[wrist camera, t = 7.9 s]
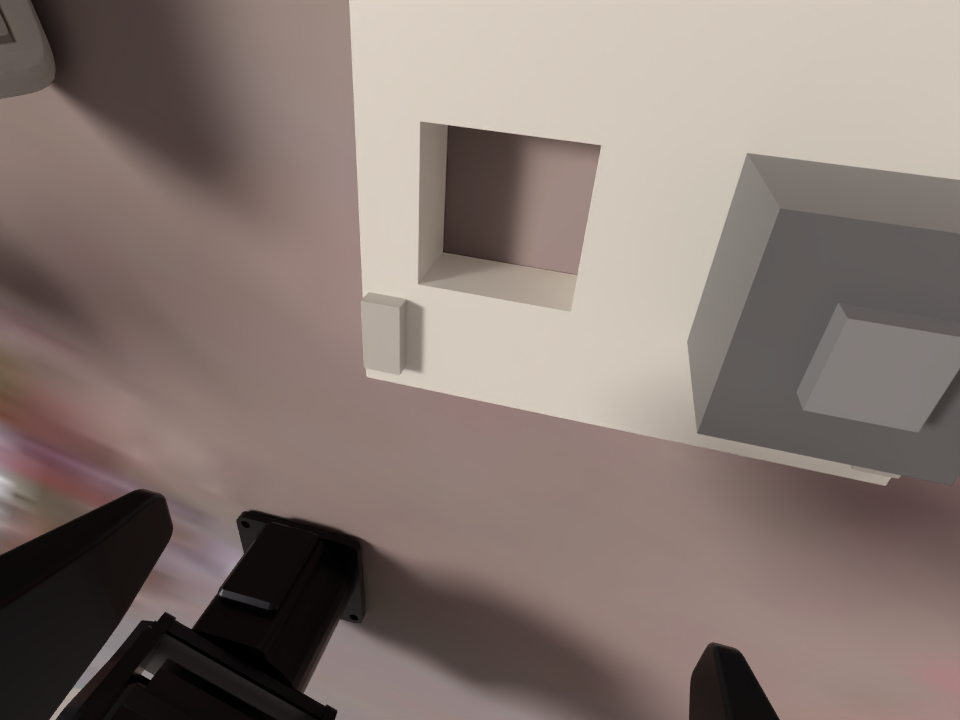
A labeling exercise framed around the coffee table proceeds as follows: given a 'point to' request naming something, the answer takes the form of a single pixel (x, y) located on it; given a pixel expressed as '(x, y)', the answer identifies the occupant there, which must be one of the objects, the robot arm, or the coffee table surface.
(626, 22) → the socket
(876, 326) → the plug
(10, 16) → the digital clock
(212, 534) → the coffee table surface
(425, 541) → the coffee table surface
